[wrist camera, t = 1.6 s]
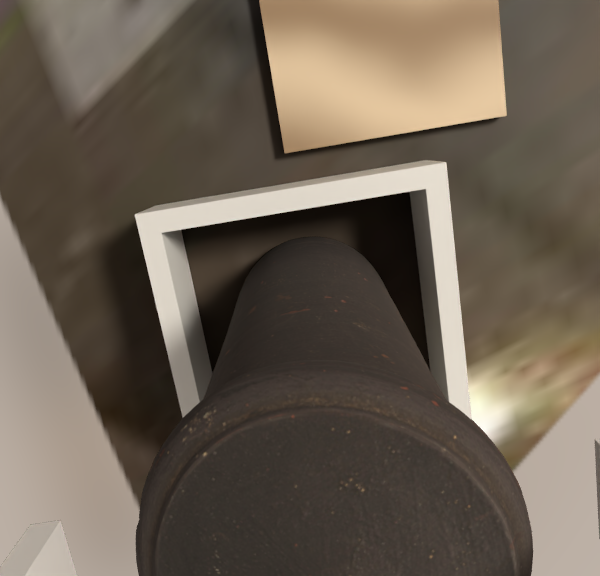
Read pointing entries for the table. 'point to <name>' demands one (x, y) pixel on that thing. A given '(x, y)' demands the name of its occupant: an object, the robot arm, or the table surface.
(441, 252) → the frame
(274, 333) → the container
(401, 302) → the table surface
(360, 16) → the cork mat
